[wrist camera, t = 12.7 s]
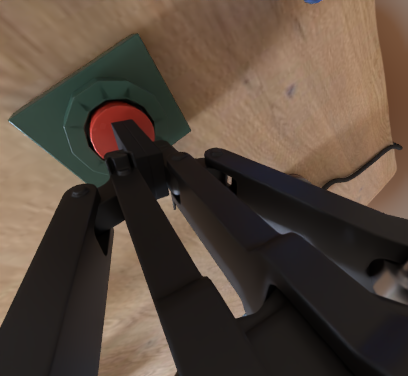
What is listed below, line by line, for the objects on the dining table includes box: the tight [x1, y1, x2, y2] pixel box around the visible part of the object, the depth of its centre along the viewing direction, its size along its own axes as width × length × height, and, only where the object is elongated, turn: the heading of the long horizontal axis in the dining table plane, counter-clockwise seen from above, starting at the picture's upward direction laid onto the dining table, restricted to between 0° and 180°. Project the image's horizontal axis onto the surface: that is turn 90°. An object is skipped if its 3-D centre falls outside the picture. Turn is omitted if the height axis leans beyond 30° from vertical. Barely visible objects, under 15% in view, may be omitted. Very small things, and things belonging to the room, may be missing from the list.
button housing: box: [8, 33, 191, 188], centre depth 18 cm, size 11×9×4 cm
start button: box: [89, 100, 155, 158], centre depth 16 cm, size 5×5×2 cm
